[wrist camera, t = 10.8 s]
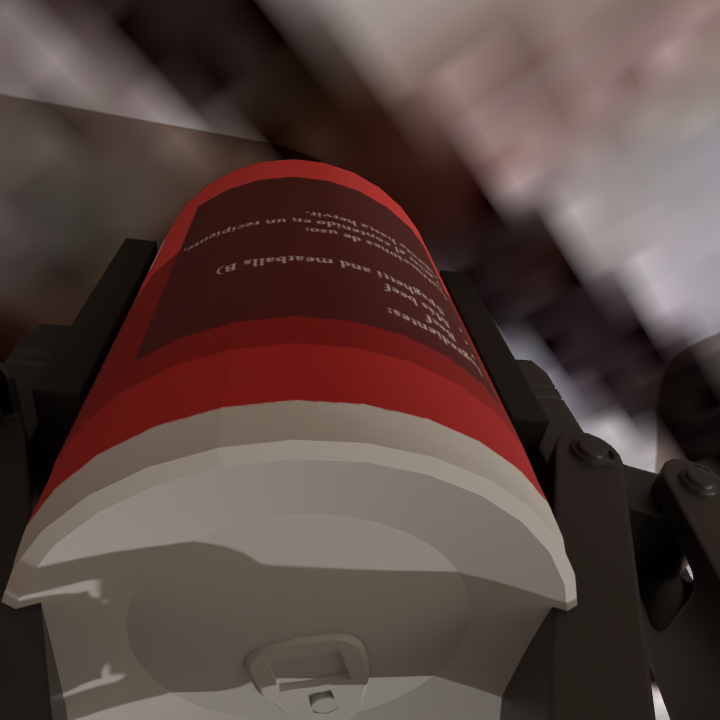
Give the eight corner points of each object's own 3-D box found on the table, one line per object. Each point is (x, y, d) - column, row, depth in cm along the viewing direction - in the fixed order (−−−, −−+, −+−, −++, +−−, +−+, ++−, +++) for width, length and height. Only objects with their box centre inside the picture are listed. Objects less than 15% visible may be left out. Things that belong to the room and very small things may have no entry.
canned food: (255, 431, 20) (221, 827, 11) (98, 230, 15) (-183, 607, 6) (466, 340, 18) (633, 701, 9) (360, 94, 14) (478, 319, 5)
